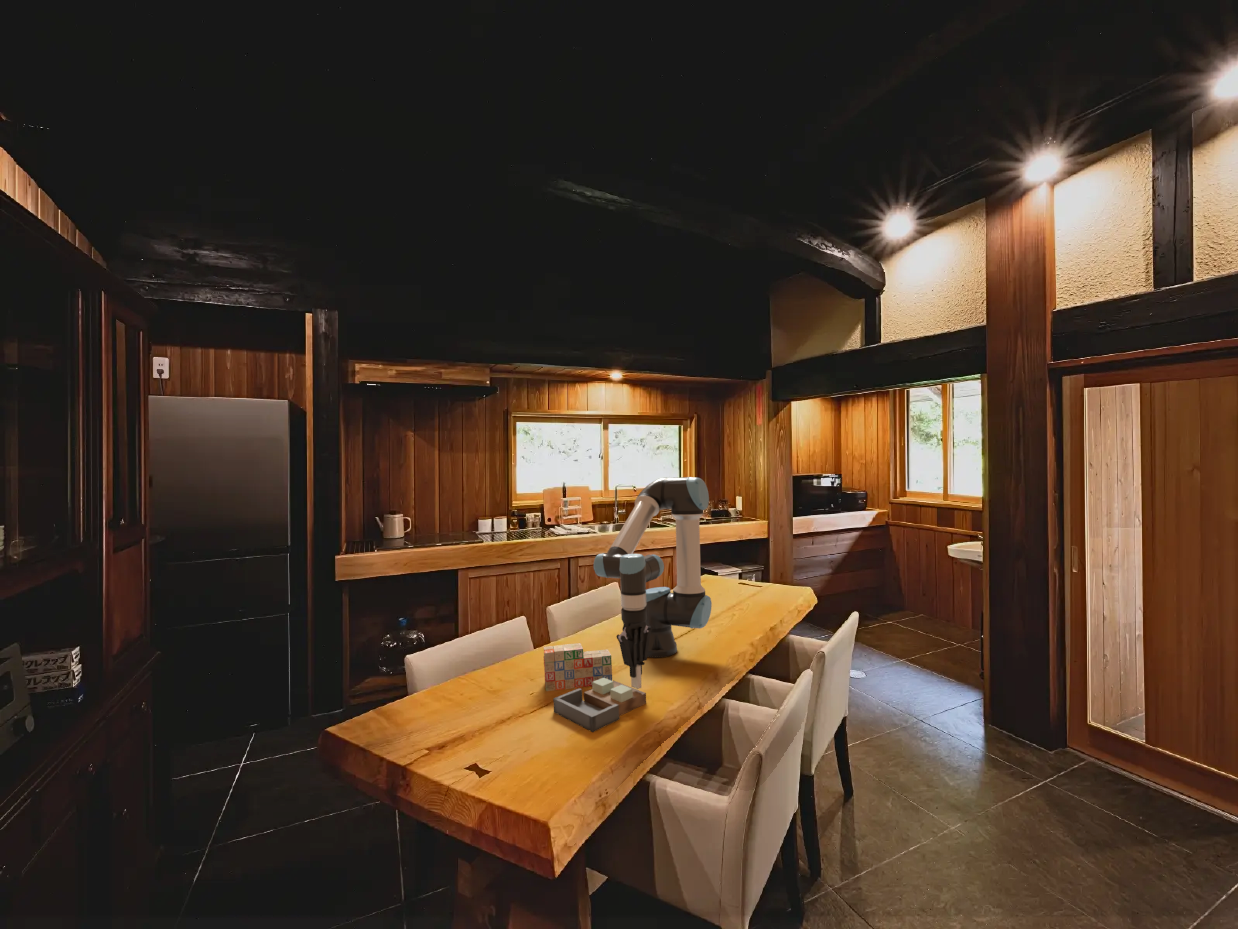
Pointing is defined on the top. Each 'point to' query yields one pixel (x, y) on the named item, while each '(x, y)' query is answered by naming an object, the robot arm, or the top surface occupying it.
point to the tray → (584, 711)
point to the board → (607, 701)
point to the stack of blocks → (574, 666)
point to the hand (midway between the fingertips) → (636, 687)
